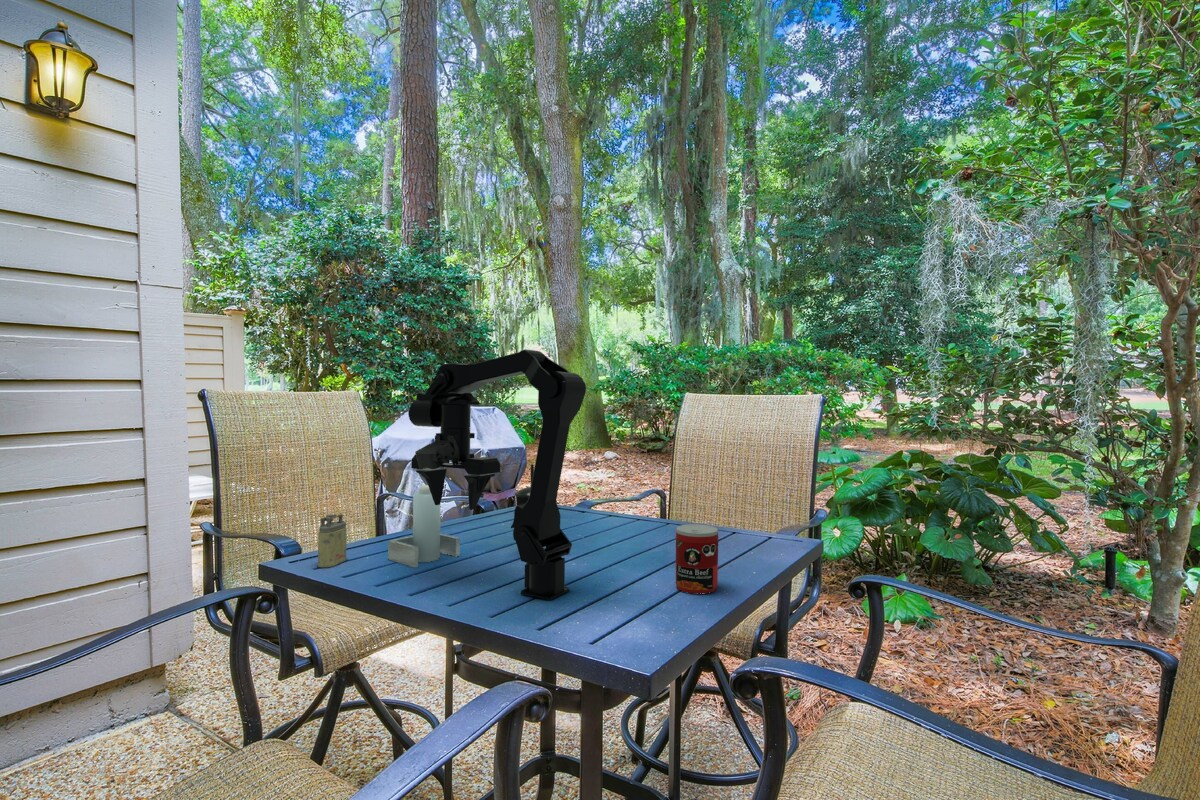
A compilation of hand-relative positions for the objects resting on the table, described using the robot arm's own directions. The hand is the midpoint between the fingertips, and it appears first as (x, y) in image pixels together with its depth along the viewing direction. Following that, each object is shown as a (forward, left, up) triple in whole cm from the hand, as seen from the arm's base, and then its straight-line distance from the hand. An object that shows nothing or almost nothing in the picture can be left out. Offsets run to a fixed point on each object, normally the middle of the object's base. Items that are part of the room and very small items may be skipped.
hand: (454, 507), depth 115 cm
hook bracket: (+14, -5, -13) cm, 20 cm away
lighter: (+26, +8, -13) cm, 30 cm away
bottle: (+13, -5, -13) cm, 19 cm away
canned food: (-44, -17, -13) cm, 49 cm away
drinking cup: (-4, -20, -13) cm, 24 cm away
